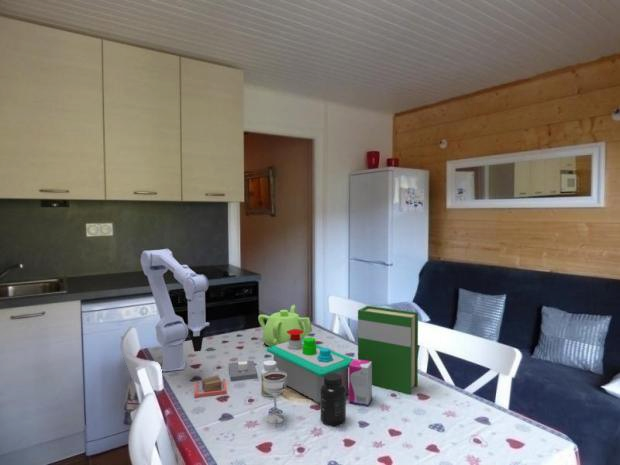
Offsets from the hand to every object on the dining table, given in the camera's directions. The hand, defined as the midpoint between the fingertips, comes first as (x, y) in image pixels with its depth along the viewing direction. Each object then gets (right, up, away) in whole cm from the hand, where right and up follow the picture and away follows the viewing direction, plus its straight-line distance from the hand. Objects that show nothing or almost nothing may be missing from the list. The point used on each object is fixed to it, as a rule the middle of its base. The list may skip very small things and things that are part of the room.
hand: (197, 350), depth 133 cm
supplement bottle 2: (+45, -11, -27) cm, 53 cm away
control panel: (+38, -10, -6) cm, 40 cm away
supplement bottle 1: (+26, -10, -11) cm, 30 cm away
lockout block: (+7, -10, -9) cm, 15 cm away
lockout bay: (+6, -10, -8) cm, 14 cm away
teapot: (+28, -7, +36) cm, 46 cm away
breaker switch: (+15, -7, +3) cm, 17 cm away
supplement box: (+53, -10, -16) cm, 57 cm away
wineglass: (+29, -11, -26) cm, 40 cm away
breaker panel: (+15, -9, +4) cm, 18 cm away
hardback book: (+64, -9, -5) cm, 65 cm away
